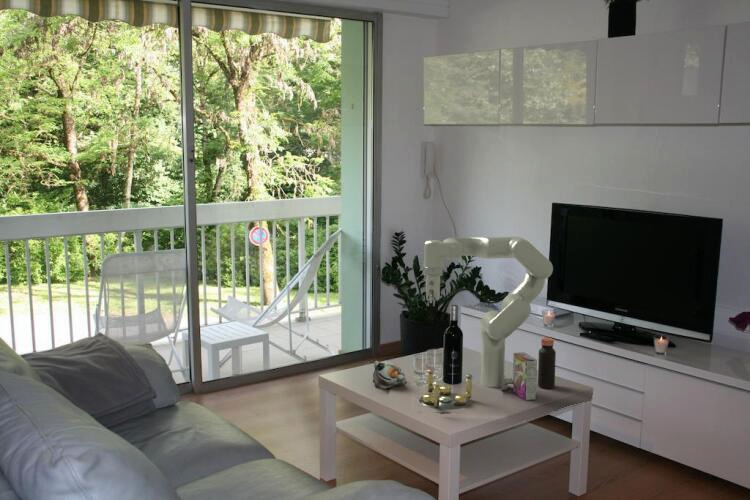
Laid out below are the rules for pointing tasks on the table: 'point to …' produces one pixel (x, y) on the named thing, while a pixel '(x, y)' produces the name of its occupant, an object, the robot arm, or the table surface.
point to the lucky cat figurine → (387, 375)
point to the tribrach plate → (446, 403)
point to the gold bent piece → (463, 398)
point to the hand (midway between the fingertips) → (431, 313)
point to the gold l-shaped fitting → (432, 396)
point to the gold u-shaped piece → (443, 390)
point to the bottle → (546, 364)
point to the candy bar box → (524, 376)
